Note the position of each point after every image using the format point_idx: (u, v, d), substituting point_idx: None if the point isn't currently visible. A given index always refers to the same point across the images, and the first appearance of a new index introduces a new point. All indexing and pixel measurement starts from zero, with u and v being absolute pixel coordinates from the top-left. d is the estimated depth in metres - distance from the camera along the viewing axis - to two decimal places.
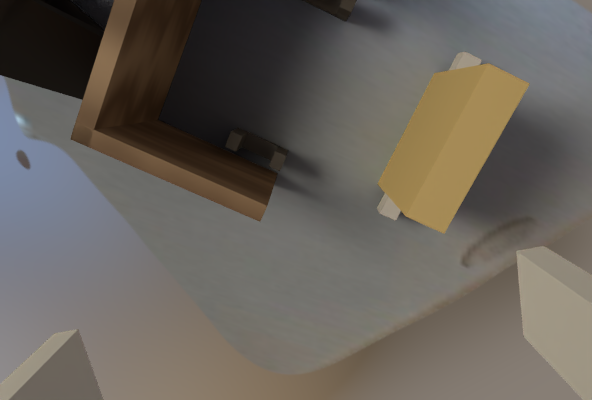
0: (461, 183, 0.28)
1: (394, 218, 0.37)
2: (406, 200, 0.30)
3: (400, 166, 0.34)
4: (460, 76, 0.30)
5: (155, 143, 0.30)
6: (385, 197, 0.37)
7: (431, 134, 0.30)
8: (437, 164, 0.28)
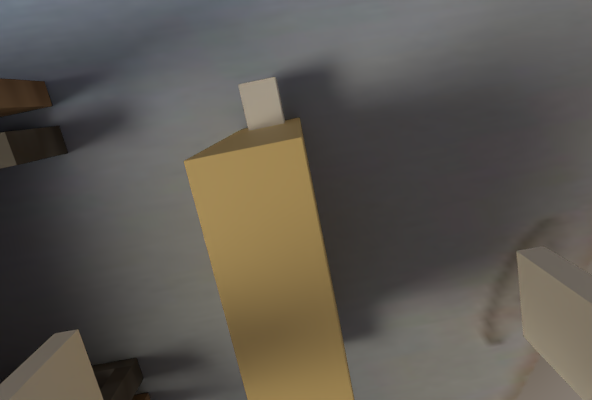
0: (328, 395, 0.12)
1: None
2: None
3: None
4: None
5: None
6: None
7: None
8: (253, 394, 0.12)
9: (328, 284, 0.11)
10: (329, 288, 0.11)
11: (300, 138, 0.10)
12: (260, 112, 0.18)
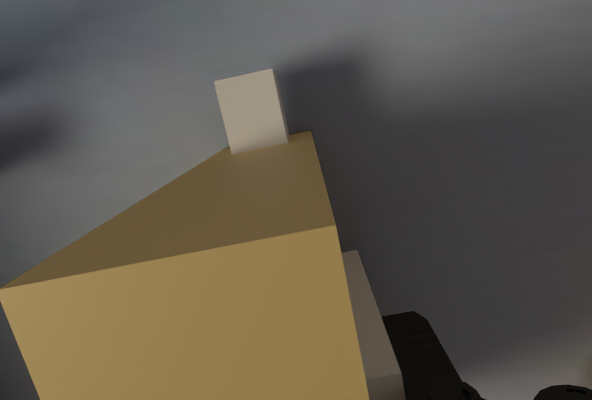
0: None
1: None
2: None
3: None
4: None
5: None
6: None
7: None
8: None
9: None
10: None
11: (332, 227, 0.03)
12: (249, 125, 0.11)
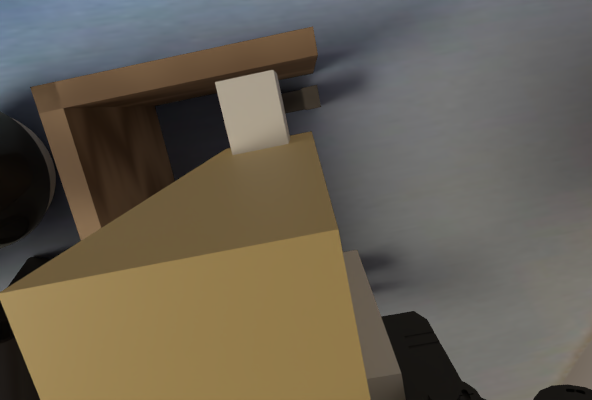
0: None
1: None
2: None
3: None
4: None
5: None
6: None
7: None
8: None
9: None
10: None
11: (334, 232, 0.03)
12: (250, 126, 0.11)
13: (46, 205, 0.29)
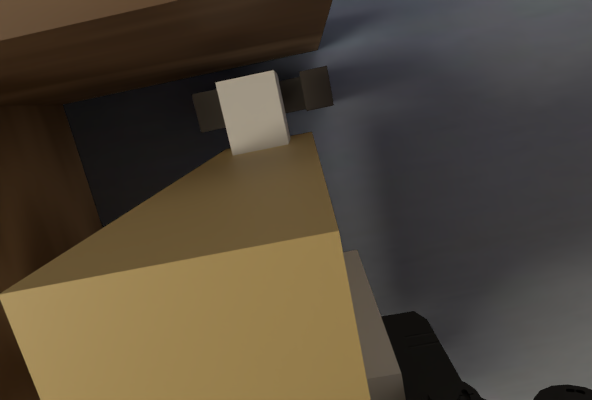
0: None
1: None
2: None
3: None
4: None
5: None
6: None
7: None
8: None
9: None
10: None
11: (335, 233, 0.03)
12: (251, 127, 0.11)
13: None
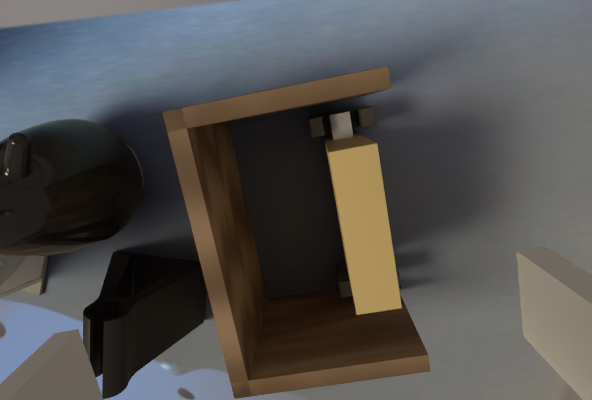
0: (383, 258, 0.27)
1: None
2: None
3: (343, 245, 0.34)
4: (328, 156, 0.29)
5: (293, 346, 0.31)
6: None
7: None
8: (350, 257, 0.27)
9: (385, 206, 0.26)
10: (386, 208, 0.26)
11: (376, 143, 0.25)
12: (340, 130, 0.33)
13: (139, 206, 0.34)
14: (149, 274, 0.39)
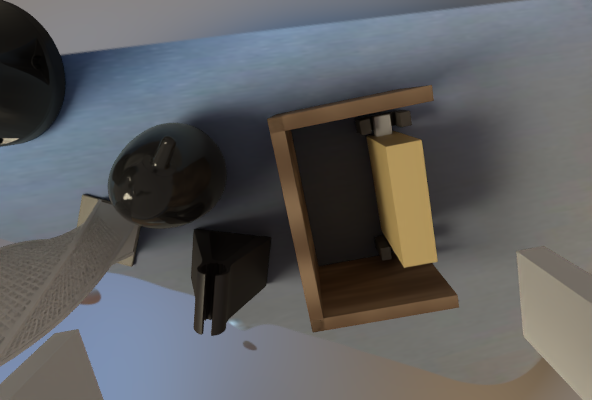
0: (424, 225, 0.36)
1: None
2: (399, 253, 0.38)
3: (385, 219, 0.43)
4: (378, 149, 0.38)
5: (351, 295, 0.40)
6: None
7: (387, 197, 0.39)
8: (400, 224, 0.36)
9: (426, 186, 0.35)
10: (427, 187, 0.35)
11: (421, 140, 0.34)
12: (382, 129, 0.42)
13: (223, 191, 0.43)
14: (223, 247, 0.48)
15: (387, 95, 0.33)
